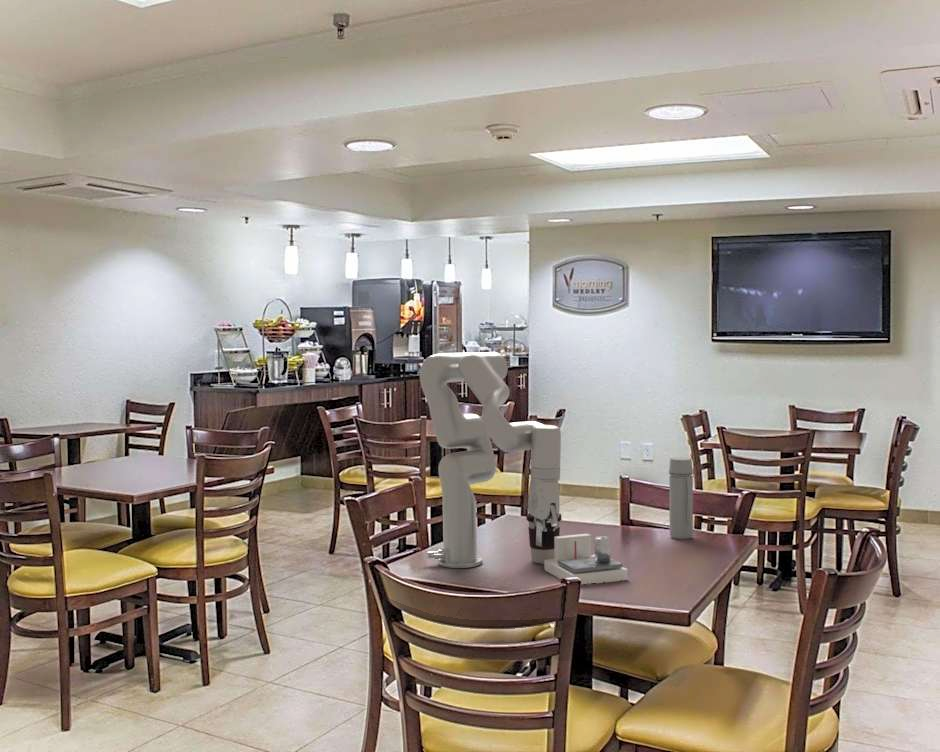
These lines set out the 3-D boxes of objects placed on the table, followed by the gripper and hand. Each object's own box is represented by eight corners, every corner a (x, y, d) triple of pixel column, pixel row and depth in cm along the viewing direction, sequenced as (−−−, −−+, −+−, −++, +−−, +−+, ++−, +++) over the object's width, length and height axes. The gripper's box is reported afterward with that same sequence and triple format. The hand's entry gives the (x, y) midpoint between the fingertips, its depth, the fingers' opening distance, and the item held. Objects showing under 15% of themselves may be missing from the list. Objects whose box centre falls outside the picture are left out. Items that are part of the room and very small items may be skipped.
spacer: (539, 547, 232) (540, 523, 231) (533, 543, 235) (534, 520, 235) (554, 545, 233) (554, 522, 232) (547, 542, 237) (548, 519, 236)
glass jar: (601, 562, 240) (600, 540, 240) (592, 560, 244) (591, 537, 243) (613, 560, 242) (612, 537, 242) (604, 557, 246) (602, 535, 245)
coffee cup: (533, 566, 254) (533, 513, 253) (522, 558, 263) (521, 507, 263) (567, 563, 256) (566, 511, 256) (554, 555, 266) (554, 504, 265)
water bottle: (664, 536, 290) (663, 457, 289) (686, 534, 292) (685, 456, 291) (679, 542, 281) (679, 461, 280) (701, 540, 283) (701, 460, 282)
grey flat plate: (574, 572, 235) (574, 568, 235) (557, 563, 244) (557, 560, 244) (622, 567, 239) (622, 563, 239) (604, 558, 249) (604, 555, 249)
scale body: (572, 586, 233) (572, 551, 233) (544, 570, 250) (544, 537, 250) (627, 579, 239) (627, 545, 238) (596, 564, 255) (596, 532, 255)
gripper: (519, 468, 239) (517, 537, 241) (545, 480, 224) (543, 553, 225) (545, 467, 242) (543, 535, 243) (572, 478, 226) (571, 551, 228)
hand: (543, 543), depth 234 cm, fingers closed on spacer, 4 cm apart
